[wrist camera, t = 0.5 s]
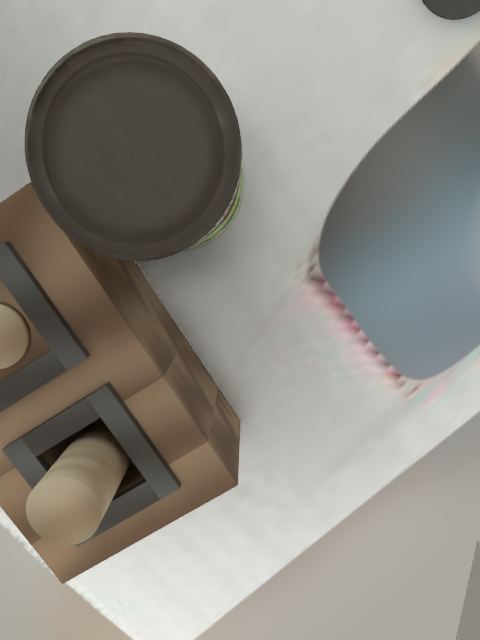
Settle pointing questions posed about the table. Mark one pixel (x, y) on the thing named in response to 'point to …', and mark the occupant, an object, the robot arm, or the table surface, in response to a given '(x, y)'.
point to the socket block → (100, 387)
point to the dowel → (78, 487)
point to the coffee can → (135, 148)
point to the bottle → (453, 8)
